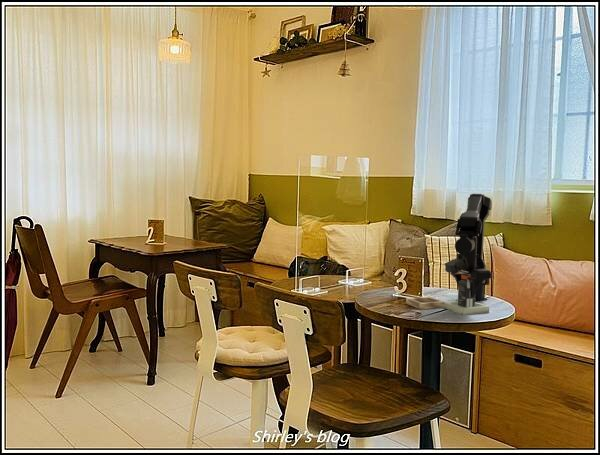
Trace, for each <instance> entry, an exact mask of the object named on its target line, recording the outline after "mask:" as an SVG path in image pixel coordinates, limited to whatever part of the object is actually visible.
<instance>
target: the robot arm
mask: <svg viewBox="0 0 600 455" xmlns="http://www.w3.org/2000/svg"><path fill="white" fill-rule="evenodd" d="M466 206H467V207H466V211H465V212H462V213H461V214H460V216H459V218H458V219H457V220H456V226H455V227H456V229H455V233H454V234H455V236H459V238H458V239H457V240H456V241H455V244H454V249H455V251H456V252H457V254H456V258H454V259H451V260H449V261H446V262H445V263H444V268H445V270H444V271H445V272H446V273H449V275H450V276H452V277H453V278H454V280H455V282H456V286H457V287H458V283H459V281H460V280H462V278H461V277H462V274H470V276H471V278H467V279H468V280H469V281H470V293H471V297H474V296H475V302H477V301H479V302H480V301H487V300H488V297H487V298H486V296H485V295H486V294H485V293H486V286H487V285H488V286H489V285H490V279H492V272H491V270H489V269H487V265H486V264H487V263H485V260H484V259H483V257H484V256H483V253H484V252H483V251H484V239H485V238H484V237H485V224H486V223H485V221H486V220H487V218H488V217H489V216H490V212H491V211H492V206H493V204H492V200H491V198H490V197H487V196H485V194H483V193H470V194H469V197H467V205H466Z"/></svg>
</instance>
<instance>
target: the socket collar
mask: <svg viewBox="0 0 600 455" xmlns="http://www.w3.org/2000/svg"><path fill="white" fill-rule="evenodd" d="M444 302H445V301H443V300H440V299H437V298H434V297H431V296H421V297H420V296H419V297H406V299H405V303H406V305H408V306H411V307H415V308H416V309H419V310H428V309H440V308H444Z"/></svg>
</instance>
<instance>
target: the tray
mask: <svg viewBox="0 0 600 455" xmlns="http://www.w3.org/2000/svg"><path fill="white" fill-rule="evenodd" d="M443 308H444V309H445V310H448V311H451V312H454V313H456V314H457V313H458V314H460V315H462V316H463V315H464V316H465V315H466V316H467V315H475V314H485V313H490V306H489V305H487V304H483V303H479V302H477V301H475V306H474V307H469V308H465V307H460V306H458V300H457V301H456V300H455V301H444V307H443Z"/></svg>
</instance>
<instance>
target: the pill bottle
mask: <svg viewBox="0 0 600 455" xmlns="http://www.w3.org/2000/svg"><path fill="white" fill-rule="evenodd" d="M461 278H462V280H460V281H459V283H458V286H457V288H458V289H457V291H458V292H457V301H458V306H460V307H465V308H469V307H474V306H475V302H476V301H475V296H474V297H471V293H470V281H469V280H468V279H467V278H471V276H470V274H462V277H461Z"/></svg>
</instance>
